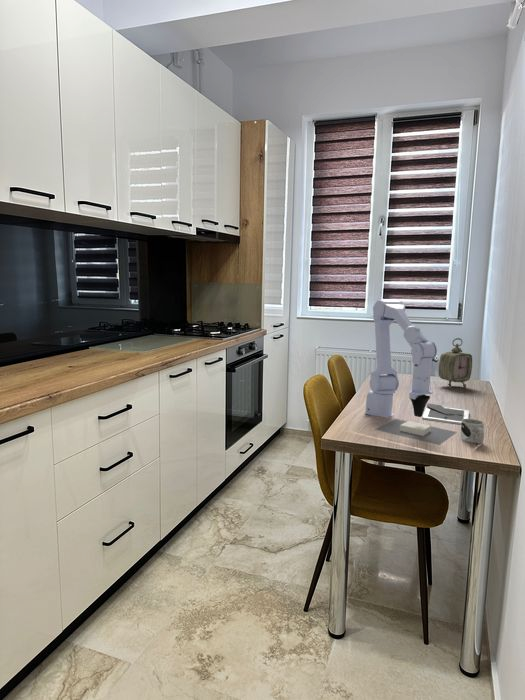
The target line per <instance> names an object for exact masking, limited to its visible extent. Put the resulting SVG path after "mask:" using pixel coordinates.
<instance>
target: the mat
mask: <svg viewBox="0 0 525 700" xmlns="http://www.w3.org/2000/svg"><path fill="white" fill-rule="evenodd" d="M407 421H408V420H403V419H398V418H395V419H393V420H390V421H388V422H386V423H385V424H383V425H380V426H379V427H377V428H374V430H376V431H379V432H383V433H388V434H392V435H396V436H401V437H404V438H409V439H414V440H417V441H422V442H426V443H430V444H435V445H438V446H439V445H441V444H443V443H445V442H446V441H447V440H448V439H450V438H451V437H453V436H454V435H455V434H458V432H457V431H454V430H450V429H445V428H440V427H436V426H431V431H430V432H429V433H427V434H426V435H424V436H421V435H416V434H412V433H408V432H403V431H400V425H401V424H403V423H405V422H407Z"/></svg>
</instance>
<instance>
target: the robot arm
mask: <svg viewBox="0 0 525 700" xmlns="http://www.w3.org/2000/svg"><path fill="white" fill-rule="evenodd" d="M372 314H373V317H372V318H373V323H374V330H375V331H374V333H375V351H376V352H375V353H376V354H375V355H376V367H375V369H373V370H371V372H370V378H369V388H370V390H369V391H368V392H367V394H366V398H365V399H366V400H365V411H364V414H365V415H369V416H376V417H377V416H378V417H380V418H381V417H382V418H386V419H388V418H391V417H392V416H394V415H396V413H393V402H394V394H395V393H396V391H397V390H398V389H399V386H400V380H399V378H398V374H397V373H398V372H397V371H396V370H395V369H394V368H393V367H392V355H391V338H390V337H391V336H390V332H391V331H390V326H391V325H392V323H394V322H396V324H398V325H399V327H400V328H401V329H402V330H403V338H404V339H405V341H406V342H407V343H408V345H409V347H410V348H411V349H410V354H411V356H412V364H413V367H412V368H413V371H412V379H411V381H412V382H411V389H410V392H409V396H408V399H410V401H411V404H412V408H413V414H414V417H417V418H421V417H423V415H424V412H425V410H426V407H427V404H428V402H429V400H430V399H431V396H430V395H432V394H434V393H433V391H431V390H432V388H431V385H430V384H431V379H432V378H431V376H432V367H433V359H435V358H436V356H437V353H438V348H437V345H436V344H435V342H433V341H430V340H429V339H427V338H426V336H425V335H424V334H423V332H422V331H421V328H420V327H418V326H416V325H413V323H412V322H411V321H410V318H409V317H408V315H407V313H406V305H404V303H403V301H402V300H400V299H398V300H395V299H393V300H388V299H387V300H385V299H378V300H377V301H375V303H374V305H373V307H372Z"/></svg>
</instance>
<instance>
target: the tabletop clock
mask: <svg viewBox="0 0 525 700" xmlns="http://www.w3.org/2000/svg"><path fill="white" fill-rule="evenodd" d="M456 340H459V341H460V344H459V343H456V344H454V343H455V341H456ZM451 343H452V345H453V347H452V348H451V350H450V351H446V352H444V353H441V354H440V357H439V363H438V376H439V378H440V379H442V380H445V381H448V383H447V387H448V388H447V389H449V388H451V389H452V383H462V387H463V386H464V387H463V388H467V384H465V382H467V381H470V378H471V377H472V376H471V375H472V370H473V355H472V354H470V353H466V352H465V353H464V352H463V349H462V348H461V346H462V345H463V340H462V338H460V337H456V338H454V339H453V340H452V342H451ZM448 385H449V386H448Z"/></svg>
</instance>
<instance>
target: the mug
mask: <svg viewBox="0 0 525 700" xmlns="http://www.w3.org/2000/svg"><path fill="white" fill-rule="evenodd" d="M460 426H461V427H460V434H459V435H460V436H459V438H460V440H462V441H464V442H468V443H474V444H477V445H482V444H483V443H484V438H485V432H484V427H485V422H484V421H482V420H478V419H475V418H474V419H473V418H468V419H462V424H461V425H460ZM483 445H484V444H483Z"/></svg>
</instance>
